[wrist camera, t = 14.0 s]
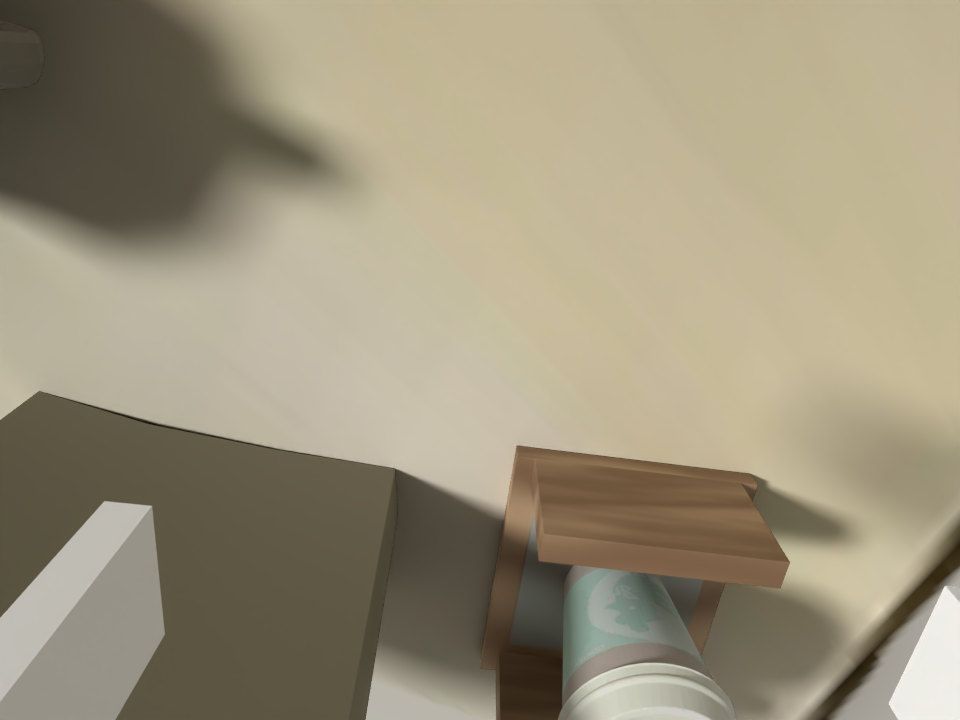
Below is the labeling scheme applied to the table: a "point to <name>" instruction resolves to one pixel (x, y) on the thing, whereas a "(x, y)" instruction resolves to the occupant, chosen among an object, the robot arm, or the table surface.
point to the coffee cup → (631, 653)
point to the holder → (612, 555)
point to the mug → (19, 56)
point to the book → (215, 557)
